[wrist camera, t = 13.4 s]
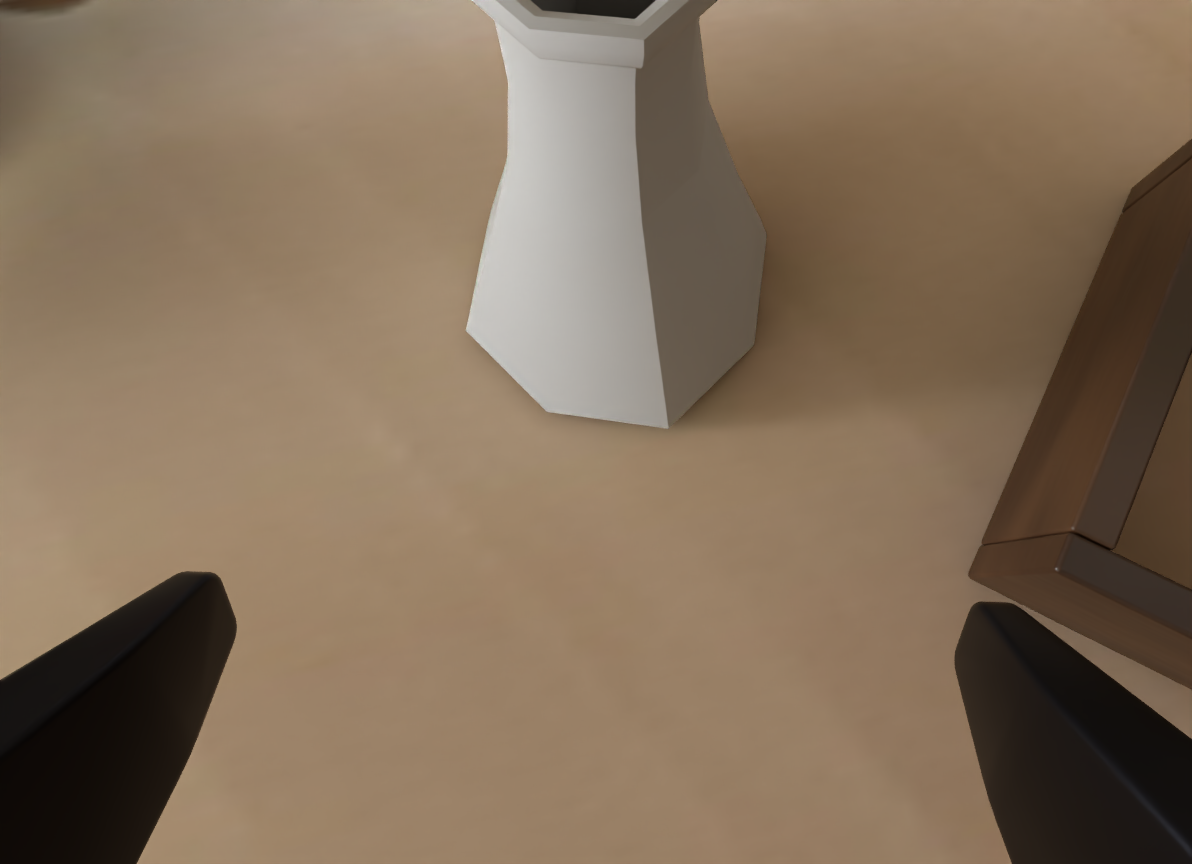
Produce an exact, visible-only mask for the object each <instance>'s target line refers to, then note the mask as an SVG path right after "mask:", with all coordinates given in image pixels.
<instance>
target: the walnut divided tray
mask: <svg viewBox="0 0 1192 864" xmlns="http://www.w3.org/2000/svg"><path fill="white" fill-rule="evenodd" d="M1191 353H1192V139H1191V140H1190V141H1188V142H1187V143H1186V144H1185V145H1184V146H1182V147H1181V148H1180V149H1179V150H1177V151H1176V152H1175V153H1174V154H1173V155H1171V156H1170V157H1169V158H1168V159H1167V160H1165V161H1164V162H1163V163H1162V164H1160V165H1159V166H1158V167H1157V168H1156V169H1154V170H1153V171H1152V172H1151V173H1150V174H1148V175H1147V176H1146V177H1145V178H1144V179H1142V180H1141V181H1140V182H1139V183H1137V184H1136V185H1135V186H1134V187H1133V188H1132V189H1131V192H1130V194H1129V196H1128V199H1127V201H1126V203H1125V206H1124V208H1123V211H1122V214H1121V215H1120V218H1119V220H1118V222H1117V225H1116V227H1115V229H1114V232H1113V234H1112V236H1111V239H1110V241H1109V244H1108V246H1107V248H1106V251H1105V253H1104V255H1103V258H1102V260H1101V262H1100V265H1099V267H1098V269H1097V272H1096V274H1095V276H1094V279H1093V281H1092V283H1091V286H1090V288H1089V291H1088V293H1087V295H1086V298H1085V300H1084V302H1083V305H1082V307H1081V309H1080V312H1079V314H1078V316H1077V319H1076V321H1075V323H1074V326H1073V328H1072V330H1071V333H1070V335H1069V337H1068V340H1067V342H1066V345H1065V347H1064V349H1063V352H1062V354H1061V356H1060V359H1059V361H1058V363H1057V366H1056V368H1055V370H1054V373H1053V375H1052V377H1051V380H1050V382H1049V384H1048V387H1047V389H1046V392H1045V394H1044V396H1043V399H1042V401H1041V403H1040V406H1039V408H1038V410H1037V413H1036V415H1035V417H1034V420H1033V422H1032V424H1031V427H1030V429H1029V431H1028V434H1027V436H1026V438H1025V441H1024V443H1023V446H1022V448H1021V450H1020V453H1019V455H1018V457H1017V460H1016V462H1015V464H1014V467H1013V469H1012V471H1011V474H1010V476H1009V478H1008V481H1007V483H1006V485H1005V488H1004V490H1003V493H1002V495H1001V497H1000V500H999V502H998V504H997V507H996V509H995V511H994V514H993V516H992V518H991V521H990V523H989V525H988V528H987V530H986V532H985V535H984V537H983V539H982V544H983V545H984V546H981V547H980V548H979V549H978V552H977V554H976V557H975V559H974V561H973V564H972V566H971V568H970V571H969V573H968V576H969V577H970V578H971V579H972V580H974V581H976V582H978V583H980V584H982V585H984V586H986V587H988V588H990V589H992V590H994V591H996V592H998V593H1000V594H1002V595H1004V596H1006V597H1008V598H1010V599H1012V600H1014V601H1016V602H1018V603H1020V604H1022V605H1024V606H1026V607H1028V608H1030V609H1032V610H1034V611H1036V612H1038V613H1040V614H1042V615H1044V616H1046V617H1048V618H1050V619H1052V620H1054V621H1056V622H1058V623H1060V624H1062V625H1064V626H1066V627H1068V628H1070V629H1072V630H1074V631H1076V632H1078V633H1080V634H1082V635H1084V636H1086V637H1088V638H1090V639H1092V640H1094V641H1096V642H1098V643H1100V644H1102V645H1104V646H1106V647H1108V648H1110V649H1112V650H1114V651H1116V652H1118V653H1120V654H1122V655H1124V656H1126V657H1128V658H1130V659H1132V660H1134V661H1136V662H1138V663H1140V664H1142V665H1144V666H1146V667H1148V668H1150V669H1152V670H1154V671H1156V672H1158V673H1160V674H1162V675H1164V676H1166V677H1168V678H1170V679H1172V680H1174V681H1176V682H1178V683H1180V684H1182V685H1184V686H1186V687H1188V688H1190V689H1192V590H1191V589H1189V588H1187V587H1185V586H1183V585H1181V584H1179V583H1177V582H1175V581H1172V580H1170V579H1168V578H1166V577H1164V576H1162V575H1160V574H1158V573H1156V572H1154V571H1152V570H1150V569H1147V568H1145V567H1143V566H1141V565H1139V564H1137V563H1135V562H1133V561H1131V560H1129V559H1127V558H1125V557H1122V556H1120V555H1118V554H1116V553H1114V552H1112V551H1110V550H1113V549H1114V548H1115V547H1116V545H1117V543H1118V540H1119V538H1120V535H1121V532H1122V530H1123V527H1124V525H1125V522H1126V520H1127V517H1128V514H1129V512H1130V509H1131V507H1132V504H1133V502H1134V499H1135V496H1136V494H1137V491H1138V489H1139V486H1140V484H1141V481H1142V478H1143V476H1144V473H1145V471H1146V468H1147V466H1148V463H1149V460H1150V458H1151V455H1152V453H1153V450H1154V448H1155V445H1156V442H1157V440H1158V437H1159V435H1160V432H1161V430H1162V427H1163V424H1164V422H1165V419H1166V417H1167V414H1168V412H1169V409H1170V406H1171V404H1172V401H1173V399H1174V396H1175V394H1176V391H1177V389H1178V386H1179V383H1180V381H1181V378H1182V376H1183V373H1184V371H1185V368H1186V365H1187V363H1188V360H1189V358H1190V355H1191Z"/></svg>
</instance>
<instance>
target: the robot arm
mask: <svg viewBox="0 0 1192 864" xmlns="http://www.w3.org/2000/svg"><path fill="white" fill-rule="evenodd" d="M236 630H237V624H236V618H235V615H234V612H233V610H232V607H231V604H230V602H229V599H228V596H227V594H226V591H225V589H224V586H223V583H222V581H221V579H220V578H219V577H218V576H217V575H216V574H215V573H211V572H191V571H186V572H181V573H178V574H176V575H174V576H172V577H171V578H169V579H167V580H166V581H164V582H162V583H161V584H159V585H157V586H156V587H154V588H152V589H151V590H149V591H147V592H146V593H144V594H142V595H141V596H139V597H137V598H136V599H134V600H132V601H131V602H129V603H127V604H126V605H124V606H122V607H121V608H119V609H117V610H116V611H114V612H112V613H111V614H109V615H108V616H106V617H104V618H103V619H101V620H99V621H98V622H96V623H94V624H93V625H91V626H89V627H88V628H86V629H84V630H83V631H81V632H79V633H78V634H76V635H74V636H73V637H71V638H69V639H68V640H66V641H64V642H63V643H61V644H59V645H58V646H56V647H54V648H53V649H51V650H49V651H48V652H46V653H44V654H43V655H41V656H39V657H38V658H36V659H34V660H33V661H31V662H29V663H28V664H26V665H24V666H23V667H21V668H19V669H18V670H16V671H14V672H13V673H11V674H9V675H8V676H6V677H4V678H3V679H1V680H0V864H137V862H138V860H139V858H140V856H141V854H142V852H143V850H144V848H145V846H146V844H147V842H148V840H149V838H150V836H151V834H152V832H153V830H154V828H155V826H156V824H157V822H158V820H159V818H160V816H161V814H162V812H163V810H164V808H165V806H166V804H167V802H168V800H169V798H170V796H171V794H172V792H173V790H174V788H175V786H176V784H177V782H178V780H179V778H180V776H181V774H182V771H183V769H184V767H185V765H186V763H187V761H188V759H189V757H190V754H191V752H192V750H193V747H194V745H195V742H196V740H197V738H198V735H199V732H200V730H201V727H202V725H203V722H204V719H205V717H206V714H207V711H208V709H209V706H210V703H211V701H212V698H213V696H214V693H215V690H216V688H217V685H218V682H219V680H220V677H221V675H222V672H223V669H224V667H225V664H226V661H227V659H228V656H229V654H230V651H231V648H232V646H233V643H234V640H235V636H236ZM955 670H956V675H957V679H958V682H959V686H960V690H961V694H962V698H963V702H964V706H965V710H966V714H967V718H968V722H969V726H970V730H971V734H972V738H973V742H974V746H975V749H976V753H977V757H978V761H979V765H980V769H981V773H982V777H983V781H984V784H985V788H986V791H987V795H988V798H989V801H990V804H991V807H992V810H993V813H994V816H995V819H996V822H997V824H998V827H999V830H1000V832H1001V835H1002V838H1003V841H1004V843H1005V846H1006V849H1007V851H1008V854H1009V857H1010V859H1011V862H1012V864H1192V739H1191V738H1189V737H1188V736H1187V735H1186V734H1184V733H1183V732H1182V731H1180V730H1179V729H1178V728H1176V727H1175V726H1174V725H1173V724H1171V723H1170V722H1169V721H1167V720H1166V719H1165V718H1163V717H1162V716H1161V715H1159V714H1158V713H1157V712H1156V711H1154V710H1153V709H1152V708H1150V707H1149V706H1148V705H1146V704H1145V703H1144V702H1142V701H1141V700H1140V699H1139V698H1137V697H1136V696H1135V695H1133V694H1132V693H1131V692H1129V691H1128V690H1127V689H1126V688H1124V687H1123V686H1122V685H1120V684H1119V683H1118V682H1116V681H1115V680H1114V679H1112V678H1111V677H1110V676H1109V675H1107V674H1106V673H1105V672H1103V671H1102V670H1101V669H1099V668H1098V667H1097V666H1095V665H1094V664H1093V663H1092V662H1090V661H1089V660H1088V659H1086V658H1085V657H1084V656H1082V655H1081V654H1080V653H1078V652H1077V651H1076V650H1075V649H1073V648H1072V647H1071V646H1069V645H1068V644H1067V643H1065V642H1064V641H1063V640H1062V639H1060V638H1059V637H1058V636H1056V635H1055V634H1054V633H1052V632H1051V631H1050V630H1048V629H1047V628H1046V627H1045V626H1043V625H1042V624H1041V623H1039V622H1038V621H1037V620H1035V619H1034V618H1033V617H1031V616H1030V615H1029V614H1028V613H1026V612H1025V611H1024V610H1022V609H1021V608H1019V607H1018V606H1016V605H1014V604H1011V603H1005V602H978V603H975V604H974V605H973V606H972V607H971V609H970V611H969V614H968V616H967V619H966V622H965V625H964V628H963V630H962V633H961V636H960V639H959V641H958V644H957V647H956V651H955Z"/></svg>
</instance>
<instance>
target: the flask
mask: <svg viewBox="0 0 1192 864" xmlns="http://www.w3.org/2000/svg"><path fill="white" fill-rule="evenodd" d="M471 1H472V2H474V3H475V4H476V5H477V6H478V7H479V8H481V9H482V10H483V11H484V12H485V13H486V14H487V15H489V16H490V17H491V18H492V19H493V20H494V22H495V25H496V29H497V34H498V38H499V43H500V47H501V52H502V56H503V61H504V65H505V70H506V74H507V79H508V155H507V160H506V164H505V167H504V171H503V174H502V177H501V180H500V183H499V186H498V189H497V193H496V196H495V199H494V202H493V205H492V208H491V212H490V217H489V221H488V225H487V230H486V235H485V240H484V245H483V250H482V254H481V259H480V264H479V269H478V274H477V279H476V284H475V289H474V293H473V298H472V303H471V308H470V313H469V318H468V323H467V328H466V331H467V332H468V333H469V334H470V335H471V336H472V337H473V338H474V339H475V340H476V341H477V342H478V343H479V344H480V345H481V346H482V347H483V348H484V349H485V350H486V351H487V352H488V353H489V354H490V355H491V356H492V357H493V358H494V359H495V360H496V361H497V362H498V363H499V364H500V365H501V366H502V367H503V368H504V369H505V370H506V371H507V372H508V373H509V374H510V375H511V376H512V377H513V378H514V379H515V380H516V381H517V382H518V383H519V384H520V385H521V386H522V387H523V388H524V389H525V390H526V391H527V392H528V393H529V394H530V395H531V396H532V397H533V398H534V399H535V400H536V401H537V402H538V403H539V404H540V405H541V406H542V407H543V408H544V409H545V410H546V411H547V412H552V413H559V414H566V415H573V416H580V417H588V418H595V419H602V420H609V421H616V422H624V423H631V424H638V425H645V426H652V427H659V428H667V429H669V428H670V427H671V426H672V425H673V424H674V423H675V422H676V421H677V420H678V419H679V418H680V417H681V416H682V415H683V414H684V413H685V412H686V411H687V410H688V409H689V408H690V407H691V406H692V405H693V404H694V403H695V402H696V401H697V400H698V399H700V398H701V397H702V396H703V395H704V394H705V393H706V392H707V391H708V390H709V389H710V388H711V387H712V386H713V385H714V384H715V383H716V382H717V381H718V380H719V379H720V378H721V377H722V376H723V375H724V374H725V373H726V372H727V371H728V370H729V369H730V368H731V367H732V366H733V365H734V364H735V363H736V362H737V361H738V360H739V359H740V358H741V357H742V356H743V355H744V354H746V353H747V352H748V351H749V350H750V349H751V348H752V347H753V346H754V342H755V333H756V324H757V316H758V307H759V298H760V290H761V281H762V272H763V263H764V255H765V246H766V237H767V234H766V231H765V229H764V226H763V224H762V222H761V219H760V217H759V215H758V213H757V211H756V209H755V207H754V205H753V203H752V201H751V199H750V197H749V195H748V193H747V191H746V189H745V187H744V185H743V183H742V181H741V179H740V177H739V175H738V173H737V170H736V168H735V165H734V163H733V160H732V158H731V155H730V153H729V150H728V148H727V145H726V143H725V140H724V138H723V135H722V133H721V130H720V128H719V125H718V123H717V120H716V118H715V115H714V113H713V110H712V108H711V105H710V103H709V100H708V92H707V84H706V75H705V67H704V59H703V51H702V43H701V34H700V26H699V17H700V16H701V15H702V14H703V13H704V12H705V11H706V10H707V9H708V8H710V7H711V6H712V5H713V4H714V3H715V2H716V1H717V0H471Z"/></svg>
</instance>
